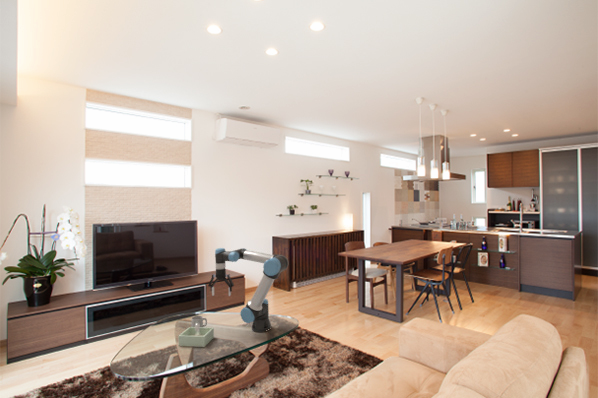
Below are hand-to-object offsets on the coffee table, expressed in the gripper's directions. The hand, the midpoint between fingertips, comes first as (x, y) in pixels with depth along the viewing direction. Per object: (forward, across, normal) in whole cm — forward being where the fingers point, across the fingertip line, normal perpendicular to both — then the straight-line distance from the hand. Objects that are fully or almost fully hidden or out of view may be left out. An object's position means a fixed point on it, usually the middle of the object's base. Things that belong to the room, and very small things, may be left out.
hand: (221, 295), depth 259 cm
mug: (+27, +17, +4) cm, 32 cm away
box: (+27, +10, +22) cm, 36 cm away
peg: (+27, +11, +20) cm, 35 cm away
